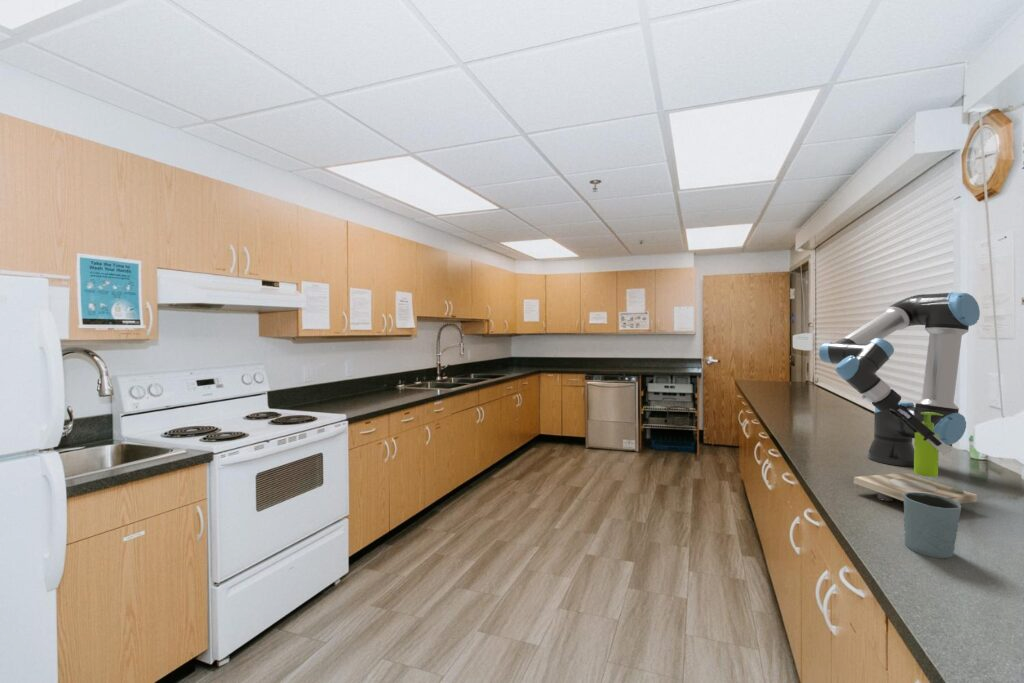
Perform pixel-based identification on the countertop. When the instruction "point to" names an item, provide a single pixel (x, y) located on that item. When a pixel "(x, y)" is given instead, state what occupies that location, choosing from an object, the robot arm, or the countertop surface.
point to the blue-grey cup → (930, 524)
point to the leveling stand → (911, 487)
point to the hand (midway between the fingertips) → (942, 449)
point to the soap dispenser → (926, 451)
